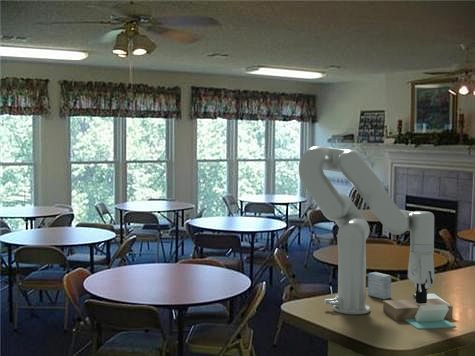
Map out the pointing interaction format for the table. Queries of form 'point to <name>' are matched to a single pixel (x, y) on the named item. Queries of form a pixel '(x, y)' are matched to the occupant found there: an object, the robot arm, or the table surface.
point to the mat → (430, 324)
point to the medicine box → (379, 285)
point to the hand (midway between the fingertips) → (421, 302)
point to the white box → (431, 313)
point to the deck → (409, 308)
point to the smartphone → (432, 297)
